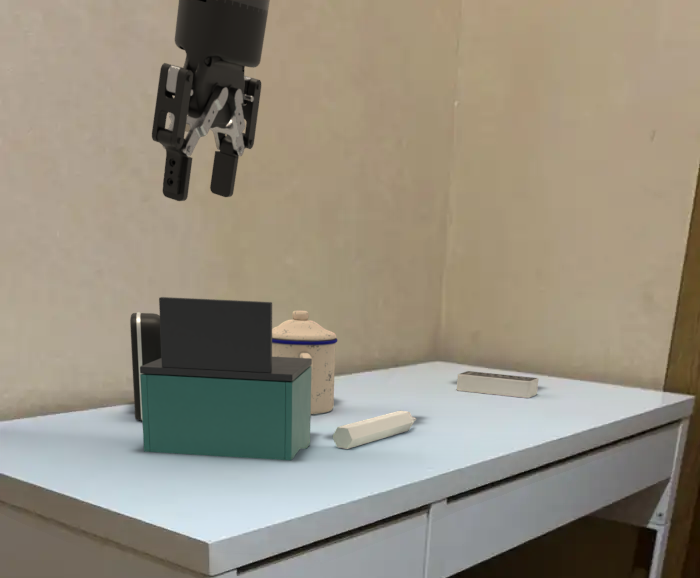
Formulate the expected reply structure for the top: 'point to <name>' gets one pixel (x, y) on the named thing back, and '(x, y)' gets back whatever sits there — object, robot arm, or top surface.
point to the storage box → (226, 415)
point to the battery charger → (143, 349)
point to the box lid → (220, 341)
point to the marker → (372, 429)
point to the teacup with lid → (309, 355)
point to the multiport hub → (497, 384)
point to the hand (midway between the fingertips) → (198, 197)
